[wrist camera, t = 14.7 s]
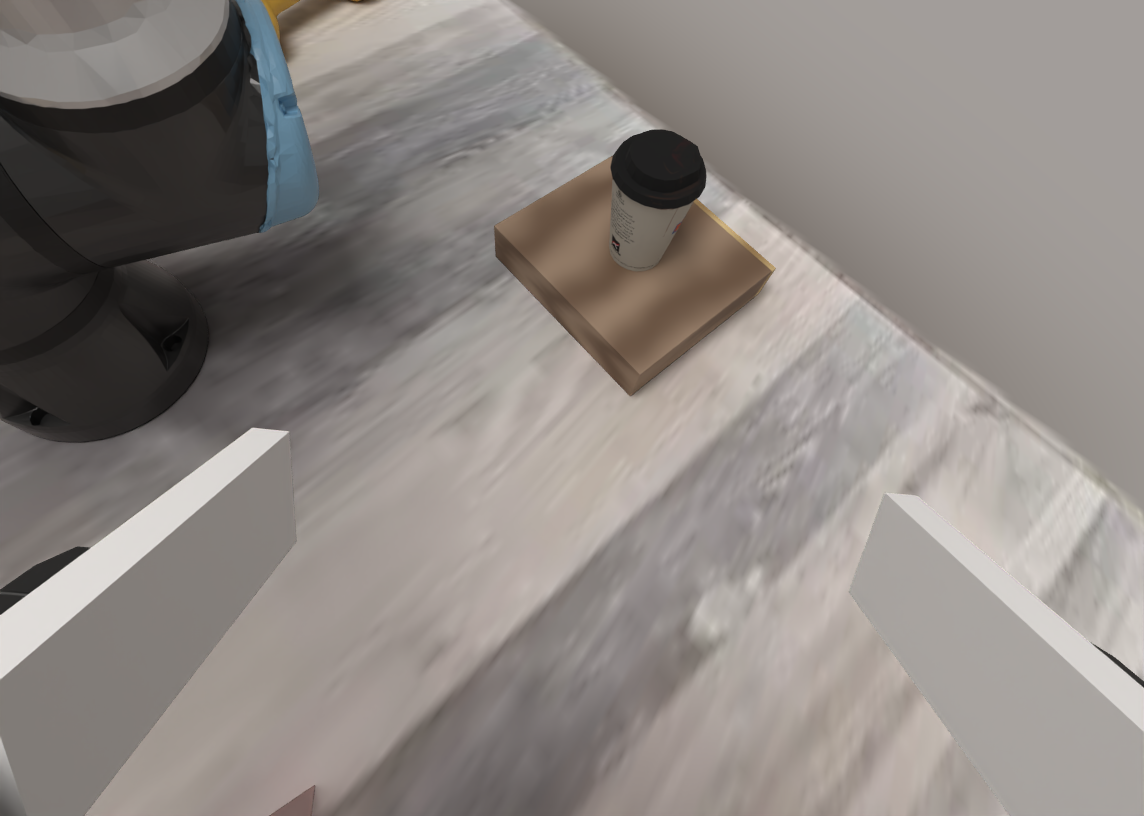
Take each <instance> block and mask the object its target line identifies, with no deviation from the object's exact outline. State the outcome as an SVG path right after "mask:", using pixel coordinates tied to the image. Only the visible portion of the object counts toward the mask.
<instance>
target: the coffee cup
mask: <svg viewBox="0 0 1144 816" xmlns="http://www.w3.org/2000/svg"><path fill="white" fill-rule="evenodd" d="M610 168H611V173H612V178H613V181H612V200H611V220H610V240H609V249H610V254H611V256H612V258H613V259H614V261H615V262H616V263H618V264H619V265H620V266H621V267H623V268H625V269H627V270H632V271H646V270H649V269H652V268H653V267H654V266H656V265H657V264H658V263H659V261H660V259H661V258H662V256H663V254H664V252H665V251H666V249H667V247H668V245H669V244H670V242H671V240H672V238H673V237H674V235H675V233H676V231H677V230H678V228H679V226H680V224H681V223H682V221H683V219H684V217H685V216H686V214H687V212H688V210H689V209H690V207H691V205H692V203H693V202H694V200H696V199H697V198H698V197H699V196H700V195H701V193H702V191H703V190H704V188H705V184H706V169H705V165H704V162H703V158H702V157H701V156H700V153H699V149H698V146H696V145H695V144H693V143H692V142H690V141H688V140H687V139H685V138H683V137H682V136H680V135H678V134H676V133H674V132H672V131H667V130H649V131H646V132H643V133H641V134H637V135H633V136H632V137H630V138H629V139H627V140H626V141H624V142H623V143H622V144H621V146H620V147H619V148H618V149H617V151H616V152H615V154H614V155H613V157H612V161H611V166H610Z"/></svg>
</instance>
